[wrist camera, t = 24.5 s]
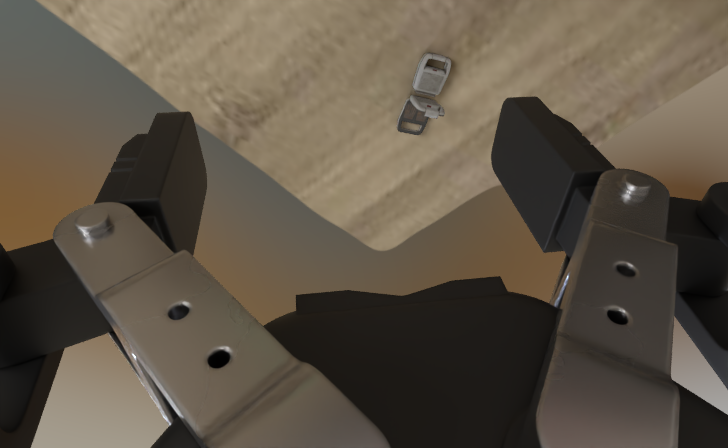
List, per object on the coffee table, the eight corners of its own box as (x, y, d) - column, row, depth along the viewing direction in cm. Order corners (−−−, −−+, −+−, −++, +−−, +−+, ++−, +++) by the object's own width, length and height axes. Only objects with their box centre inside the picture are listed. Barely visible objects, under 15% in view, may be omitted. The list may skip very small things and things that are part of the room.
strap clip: (423, 49, 43) (434, 67, 40) (451, 57, 44) (465, 74, 41) (394, 128, 48) (402, 149, 45) (420, 133, 49) (430, 154, 46)
